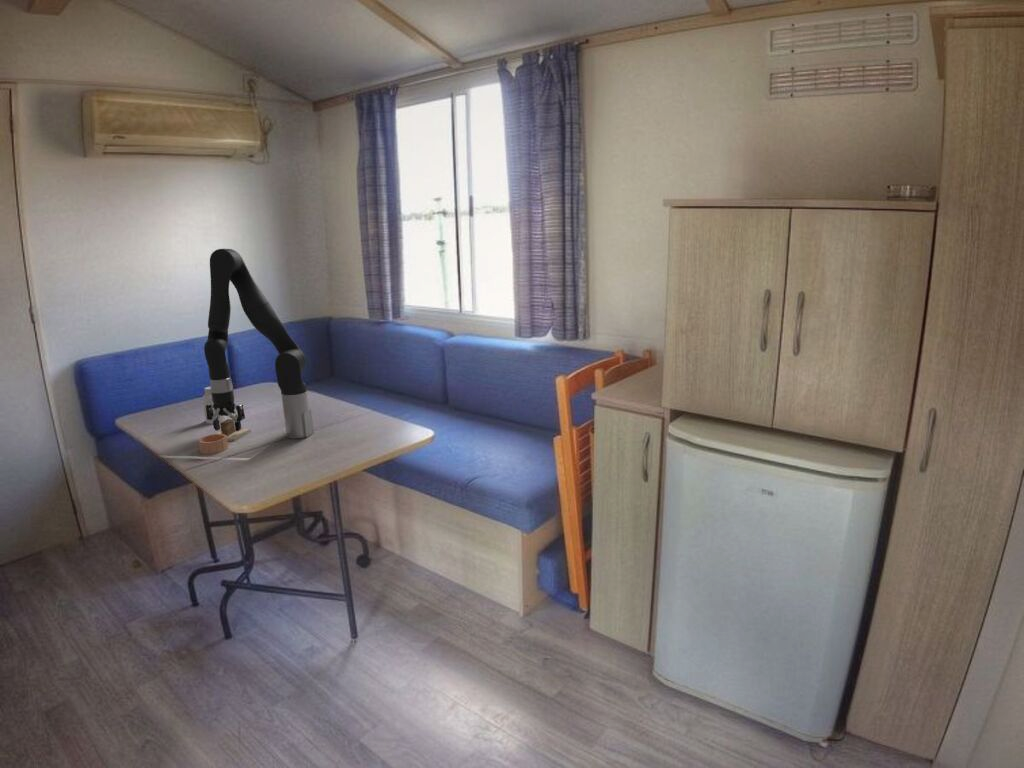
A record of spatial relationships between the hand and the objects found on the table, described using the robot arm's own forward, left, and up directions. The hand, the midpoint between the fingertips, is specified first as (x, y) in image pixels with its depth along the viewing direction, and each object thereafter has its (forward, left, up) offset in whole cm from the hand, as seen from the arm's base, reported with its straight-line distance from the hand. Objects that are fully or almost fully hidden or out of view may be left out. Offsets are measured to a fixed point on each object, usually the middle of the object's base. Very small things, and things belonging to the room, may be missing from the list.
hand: (227, 430), depth 235 cm
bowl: (-3, +14, -3) cm, 15 cm away
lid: (0, 0, -2) cm, 2 cm away
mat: (0, 0, -3) cm, 3 cm away
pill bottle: (+16, -17, -3) cm, 23 cm away
